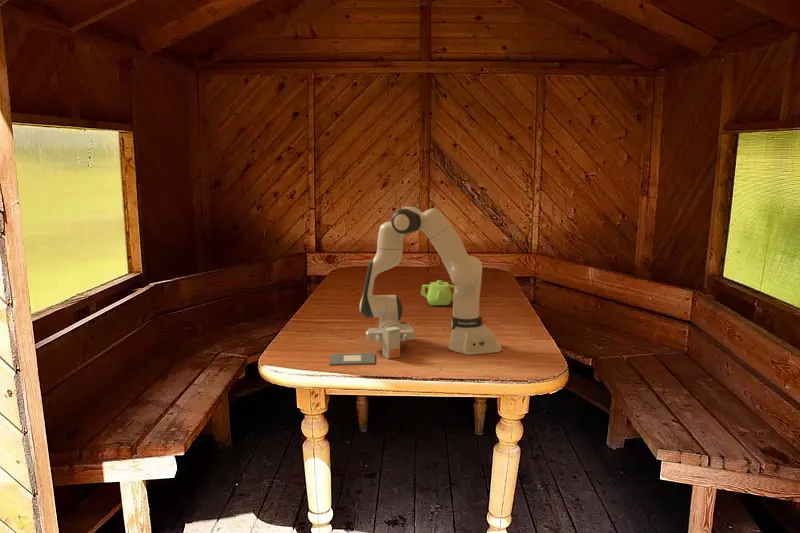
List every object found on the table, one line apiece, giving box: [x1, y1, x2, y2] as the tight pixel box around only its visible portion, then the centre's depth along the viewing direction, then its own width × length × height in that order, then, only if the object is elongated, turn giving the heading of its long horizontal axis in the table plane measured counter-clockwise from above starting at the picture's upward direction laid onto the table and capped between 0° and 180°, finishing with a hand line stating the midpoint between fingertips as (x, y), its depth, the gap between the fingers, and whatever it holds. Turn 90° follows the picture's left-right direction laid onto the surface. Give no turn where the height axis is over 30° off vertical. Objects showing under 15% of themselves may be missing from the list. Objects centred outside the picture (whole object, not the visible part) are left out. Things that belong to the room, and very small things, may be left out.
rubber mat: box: [329, 352, 376, 366], centre depth 259 cm, size 18×12×1 cm, turn 94°
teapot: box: [420, 279, 455, 307], centre depth 349 cm, size 18×20×13 cm
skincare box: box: [382, 326, 401, 360], centre depth 262 cm, size 6×4×12 cm
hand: (391, 339), depth 262 cm, fingers open, 8 cm apart
